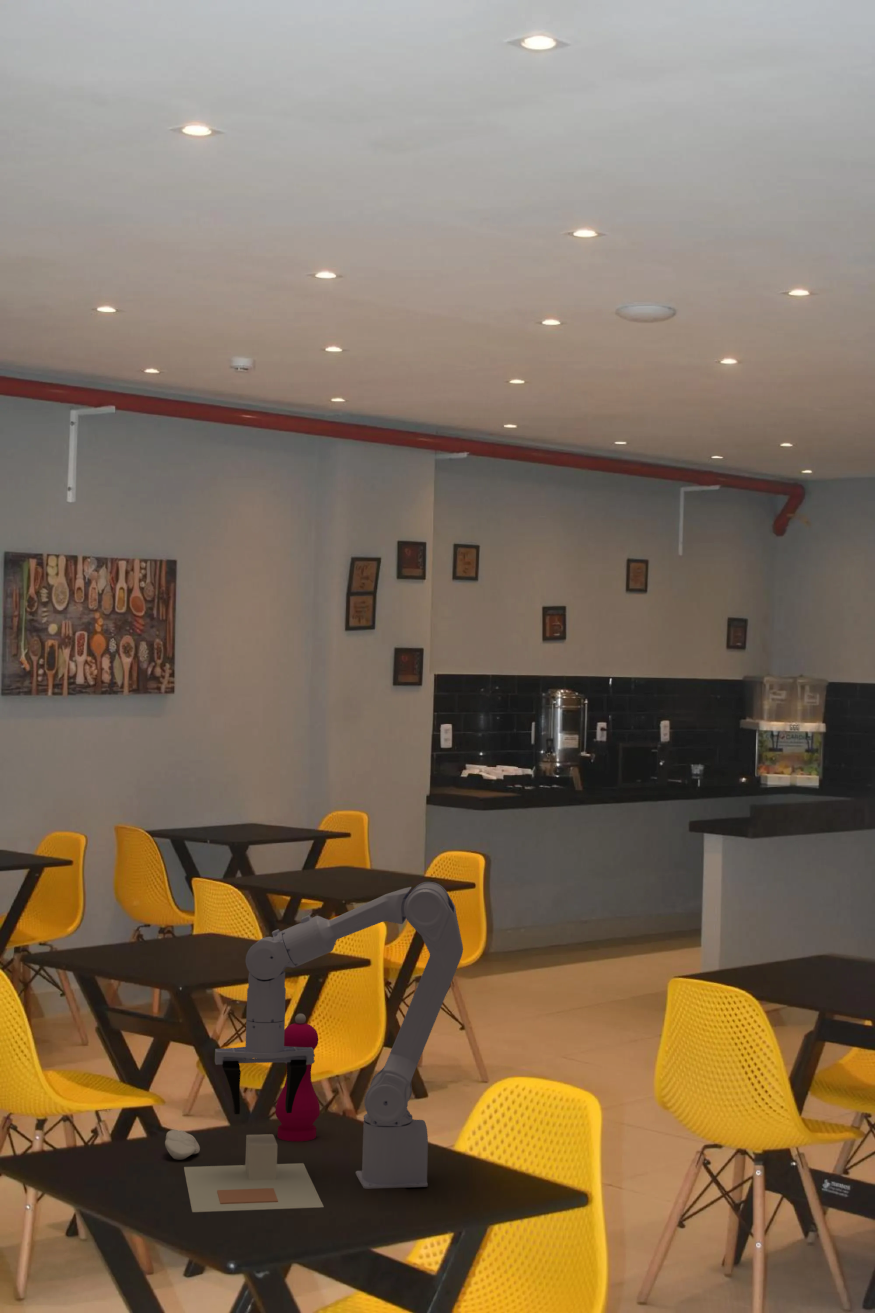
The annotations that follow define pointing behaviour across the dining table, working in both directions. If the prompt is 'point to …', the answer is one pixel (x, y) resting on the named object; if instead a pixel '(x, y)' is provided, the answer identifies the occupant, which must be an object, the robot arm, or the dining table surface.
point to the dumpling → (181, 1144)
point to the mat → (288, 1187)
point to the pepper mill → (299, 1089)
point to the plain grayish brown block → (261, 1157)
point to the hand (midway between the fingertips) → (262, 1112)
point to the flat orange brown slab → (247, 1196)
